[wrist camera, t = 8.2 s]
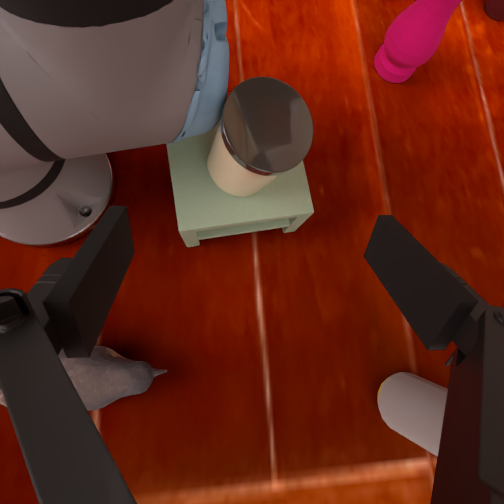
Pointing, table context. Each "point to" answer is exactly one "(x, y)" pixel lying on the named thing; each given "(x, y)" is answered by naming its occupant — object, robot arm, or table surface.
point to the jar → (259, 136)
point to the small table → (231, 197)
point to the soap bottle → (413, 408)
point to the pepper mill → (413, 38)
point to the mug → (495, 9)
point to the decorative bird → (105, 377)
